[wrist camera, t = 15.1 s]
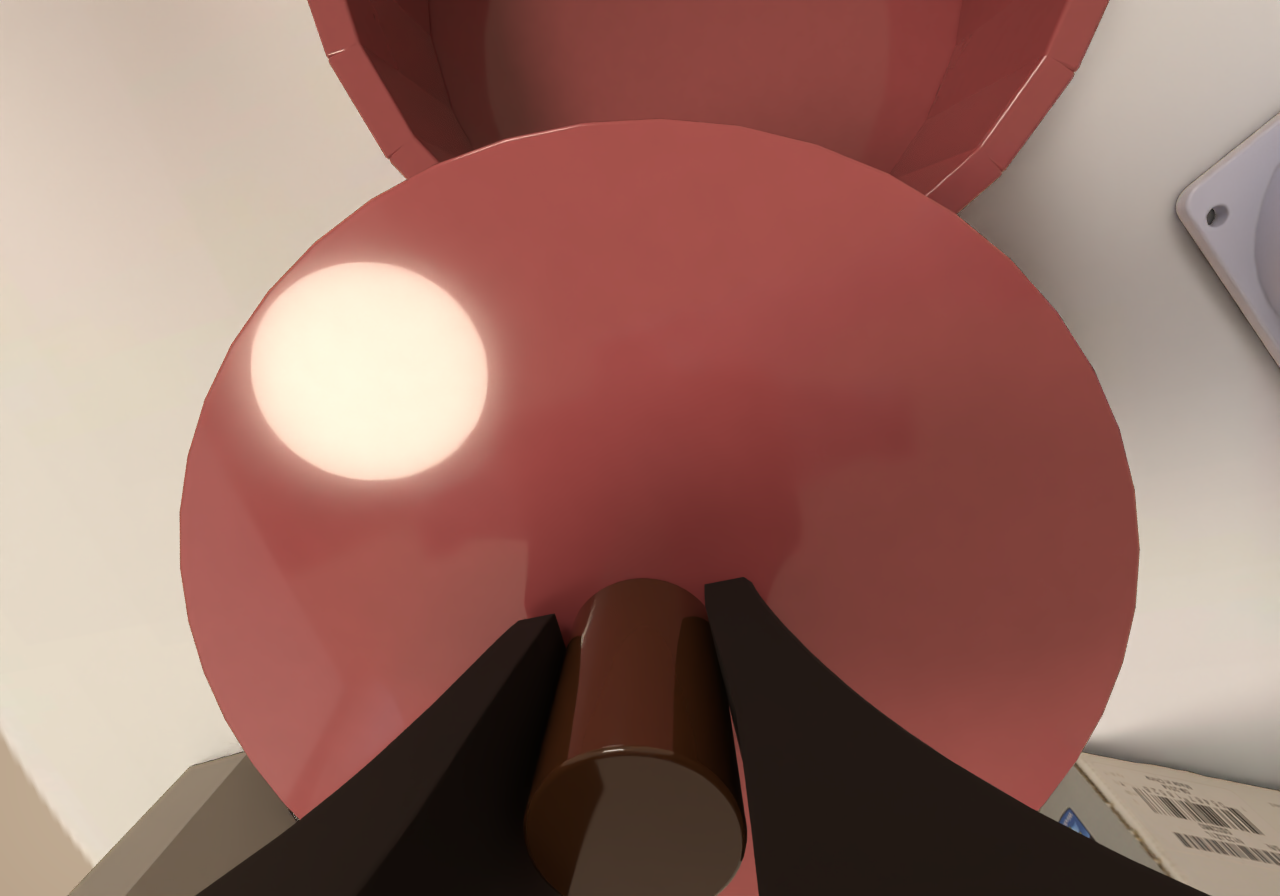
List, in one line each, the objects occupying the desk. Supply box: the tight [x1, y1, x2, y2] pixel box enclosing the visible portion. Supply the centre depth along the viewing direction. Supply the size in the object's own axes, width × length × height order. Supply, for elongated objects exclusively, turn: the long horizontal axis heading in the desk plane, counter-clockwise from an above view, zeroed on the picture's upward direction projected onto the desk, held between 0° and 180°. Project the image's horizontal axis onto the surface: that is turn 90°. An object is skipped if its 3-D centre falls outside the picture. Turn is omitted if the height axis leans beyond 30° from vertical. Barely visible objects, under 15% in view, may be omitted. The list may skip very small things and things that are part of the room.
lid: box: [180, 118, 1140, 896], centre depth 8 cm, size 15×15×5 cm
